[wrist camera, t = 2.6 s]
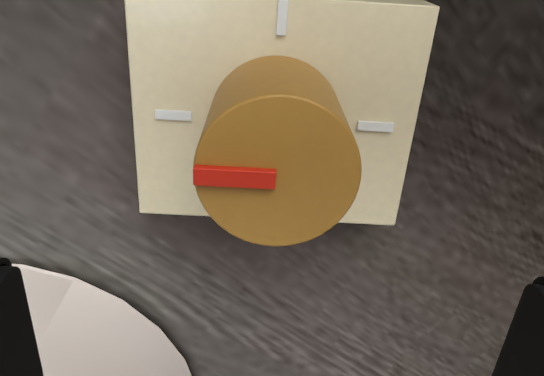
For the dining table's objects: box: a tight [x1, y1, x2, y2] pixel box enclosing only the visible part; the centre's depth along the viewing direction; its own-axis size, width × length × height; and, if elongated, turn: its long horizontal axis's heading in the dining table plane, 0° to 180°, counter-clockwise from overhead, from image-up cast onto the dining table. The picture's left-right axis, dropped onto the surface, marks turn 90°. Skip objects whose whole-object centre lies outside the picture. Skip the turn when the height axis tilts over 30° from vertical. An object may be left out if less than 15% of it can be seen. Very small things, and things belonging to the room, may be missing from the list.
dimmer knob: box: [193, 56, 362, 246], centre depth 16 cm, size 5×5×5 cm
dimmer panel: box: [125, 0, 439, 225], centre depth 20 cm, size 11×9×3 cm
